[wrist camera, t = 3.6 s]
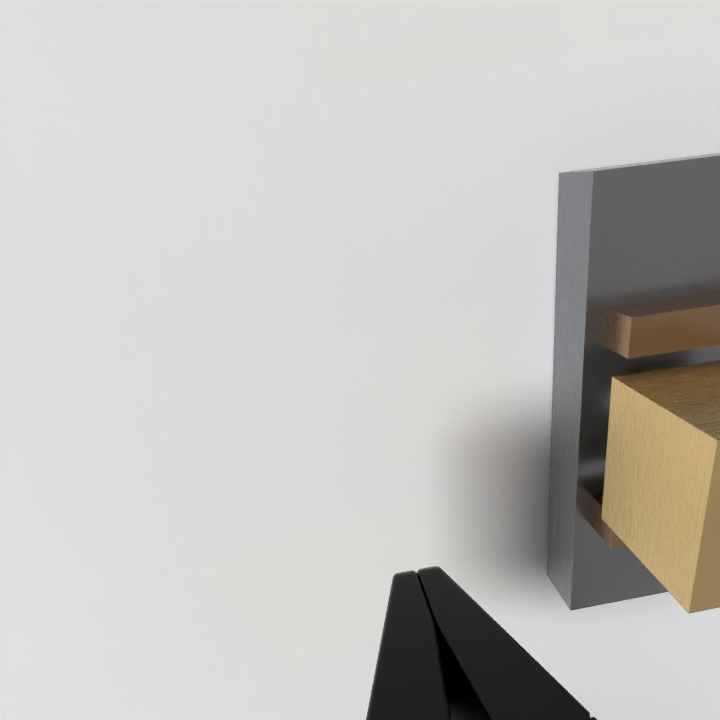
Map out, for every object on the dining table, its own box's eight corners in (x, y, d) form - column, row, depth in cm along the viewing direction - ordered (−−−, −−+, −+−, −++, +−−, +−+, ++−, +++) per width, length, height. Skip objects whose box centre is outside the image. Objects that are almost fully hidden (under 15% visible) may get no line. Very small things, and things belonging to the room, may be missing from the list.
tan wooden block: (719, 476, 14) (868, 577, 10) (584, 499, 13) (688, 613, 10) (743, 341, 12) (925, 404, 9) (592, 365, 12) (717, 440, 8)
